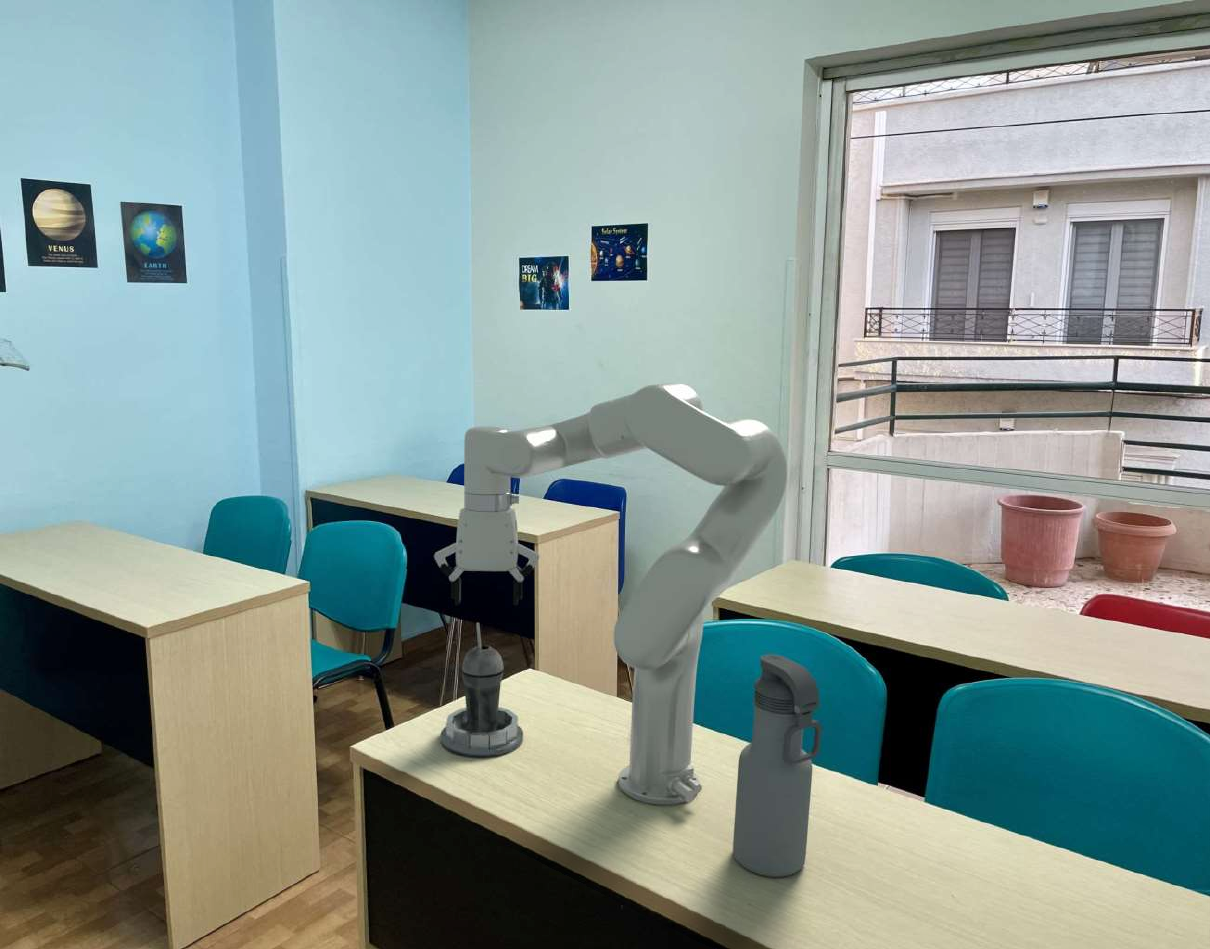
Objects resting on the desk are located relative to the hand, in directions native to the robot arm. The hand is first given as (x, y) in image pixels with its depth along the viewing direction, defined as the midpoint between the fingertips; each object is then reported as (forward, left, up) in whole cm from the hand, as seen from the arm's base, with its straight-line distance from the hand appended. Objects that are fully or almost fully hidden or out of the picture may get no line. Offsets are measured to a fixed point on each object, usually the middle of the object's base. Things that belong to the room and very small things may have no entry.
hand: (486, 602), depth 156 cm
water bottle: (-52, -18, -25) cm, 60 cm away
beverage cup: (0, 0, -24) cm, 24 cm away
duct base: (0, 0, -24) cm, 24 cm away
